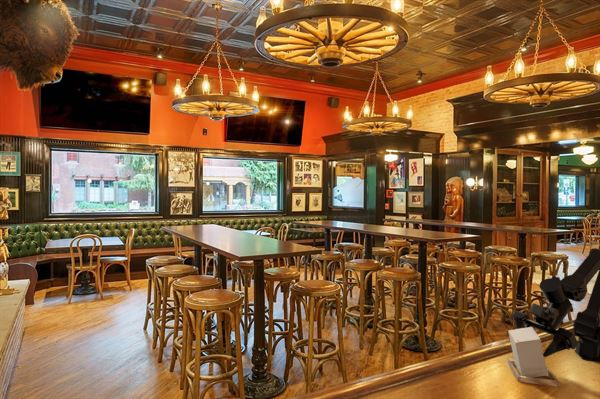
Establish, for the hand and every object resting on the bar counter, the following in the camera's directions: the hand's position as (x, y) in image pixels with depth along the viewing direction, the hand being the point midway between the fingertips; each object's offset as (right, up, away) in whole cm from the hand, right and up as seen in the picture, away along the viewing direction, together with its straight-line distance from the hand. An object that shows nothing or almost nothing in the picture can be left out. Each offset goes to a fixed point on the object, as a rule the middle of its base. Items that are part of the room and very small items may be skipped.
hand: (528, 349), depth 128 cm
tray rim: (+2, -9, +2) cm, 9 cm away
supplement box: (+2, -7, +1) cm, 8 cm away
